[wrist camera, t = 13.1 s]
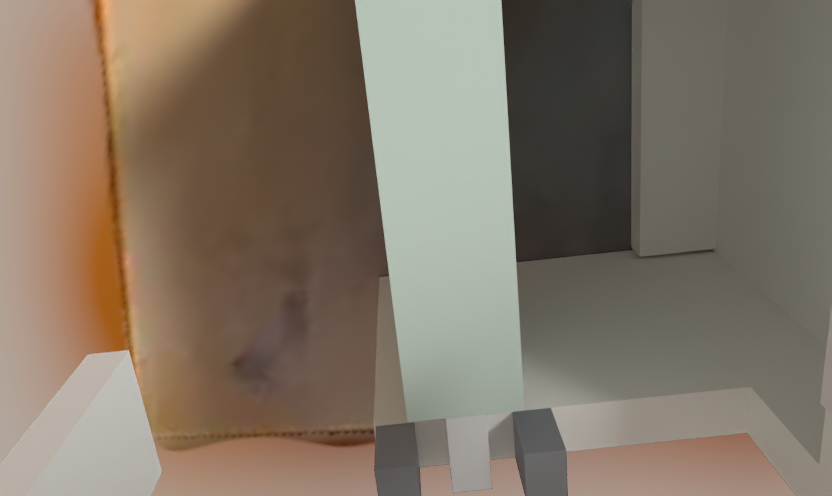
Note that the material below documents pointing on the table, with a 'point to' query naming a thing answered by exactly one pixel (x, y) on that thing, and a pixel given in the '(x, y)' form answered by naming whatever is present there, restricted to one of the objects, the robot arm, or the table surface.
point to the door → (447, 213)
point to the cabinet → (678, 267)
